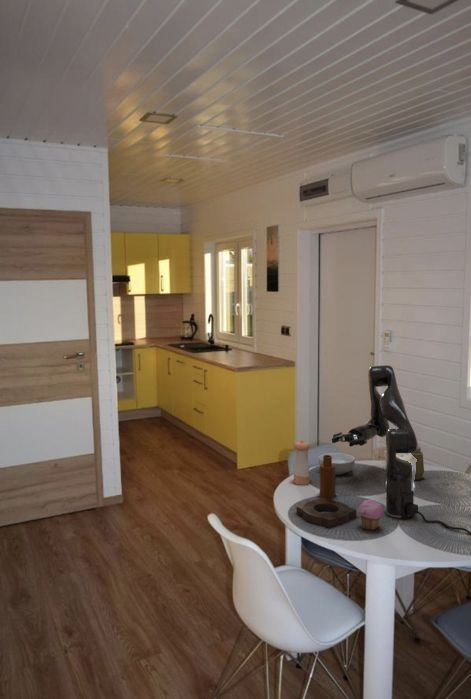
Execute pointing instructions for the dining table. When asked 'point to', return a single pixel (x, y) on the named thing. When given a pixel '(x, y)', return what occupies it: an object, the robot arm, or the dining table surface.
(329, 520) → the board
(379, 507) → the cupcake
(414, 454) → the squeeze bottle
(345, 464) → the cereal bowl
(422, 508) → the dining table surface
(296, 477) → the pepper shaker
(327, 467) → the bottle
